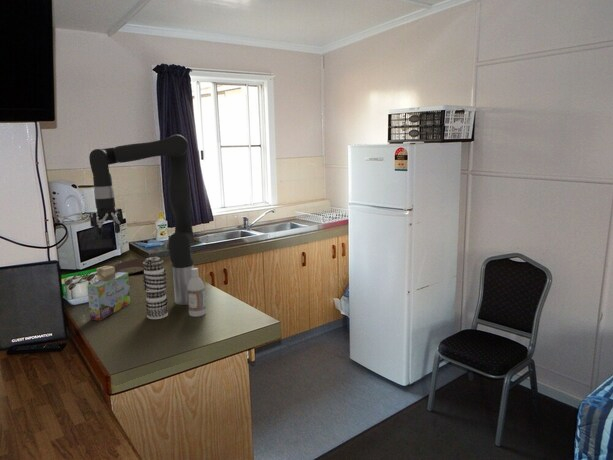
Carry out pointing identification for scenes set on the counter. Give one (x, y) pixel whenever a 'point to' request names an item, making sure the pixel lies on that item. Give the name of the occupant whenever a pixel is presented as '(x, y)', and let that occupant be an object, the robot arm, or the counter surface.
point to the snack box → (108, 296)
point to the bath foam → (196, 295)
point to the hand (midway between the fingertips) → (108, 234)
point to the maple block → (106, 273)
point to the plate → (130, 264)
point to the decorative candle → (155, 288)
